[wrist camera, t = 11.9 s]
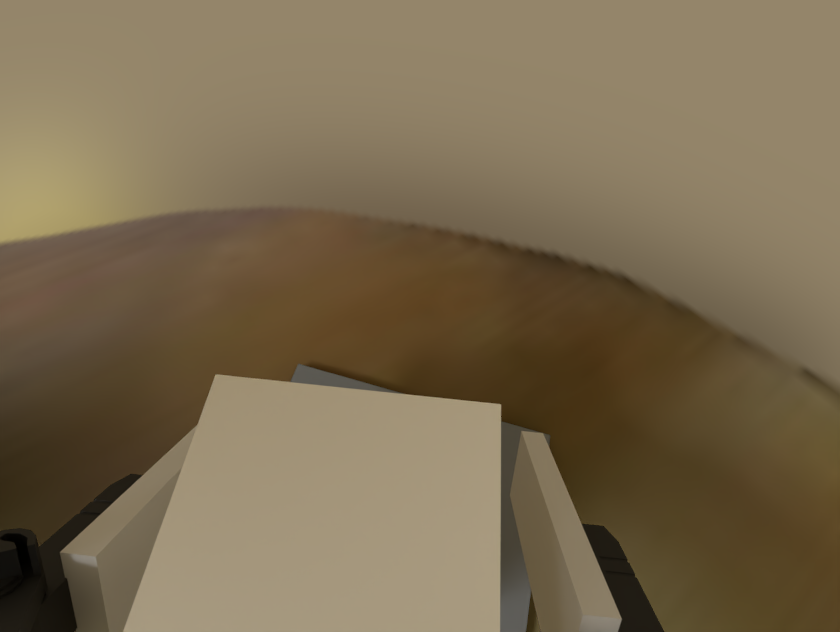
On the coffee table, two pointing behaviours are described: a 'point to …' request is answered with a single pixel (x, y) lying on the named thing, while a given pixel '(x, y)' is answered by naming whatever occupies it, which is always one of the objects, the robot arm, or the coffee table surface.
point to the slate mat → (511, 555)
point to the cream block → (330, 515)
